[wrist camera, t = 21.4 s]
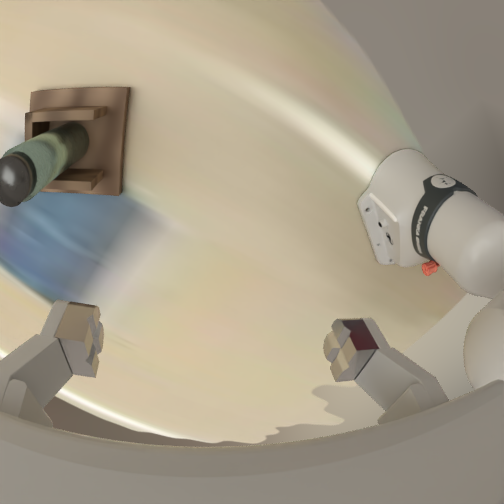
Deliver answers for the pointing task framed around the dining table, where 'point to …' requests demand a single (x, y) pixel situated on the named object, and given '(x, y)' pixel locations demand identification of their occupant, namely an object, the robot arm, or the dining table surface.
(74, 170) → the u rest
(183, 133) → the dining table surface
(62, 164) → the flask
